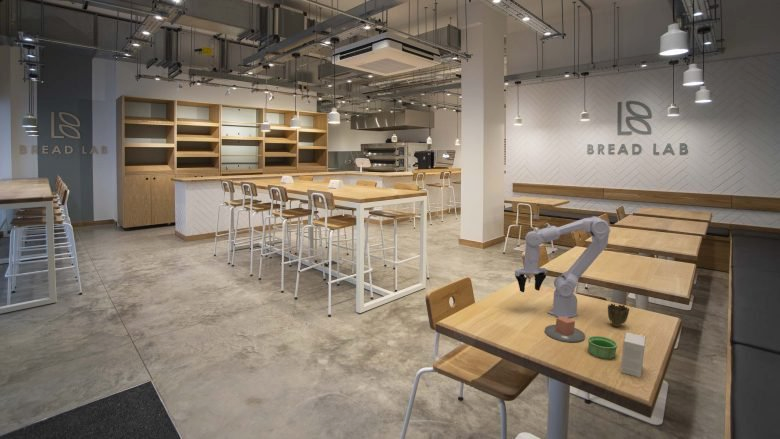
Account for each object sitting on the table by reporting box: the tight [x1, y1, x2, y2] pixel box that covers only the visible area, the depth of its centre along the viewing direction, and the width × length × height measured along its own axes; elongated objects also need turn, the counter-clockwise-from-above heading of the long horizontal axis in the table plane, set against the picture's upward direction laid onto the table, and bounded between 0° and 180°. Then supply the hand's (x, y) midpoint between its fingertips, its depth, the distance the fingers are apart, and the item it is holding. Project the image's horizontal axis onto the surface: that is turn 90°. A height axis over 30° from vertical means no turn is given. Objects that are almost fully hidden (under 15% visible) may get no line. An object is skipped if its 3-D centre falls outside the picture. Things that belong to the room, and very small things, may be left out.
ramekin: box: [587, 335, 618, 360], centre depth 138 cm, size 9×9×4 cm
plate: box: [544, 324, 586, 344], centre depth 153 cm, size 14×14×1 cm
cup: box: [607, 303, 630, 328], centre depth 160 cm, size 8×7×8 cm
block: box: [555, 317, 576, 336], centre depth 153 cm, size 4×5×5 cm
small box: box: [620, 332, 647, 378], centre depth 127 cm, size 8×6×10 cm
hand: (529, 290), depth 174 cm, fingers open, 7 cm apart
